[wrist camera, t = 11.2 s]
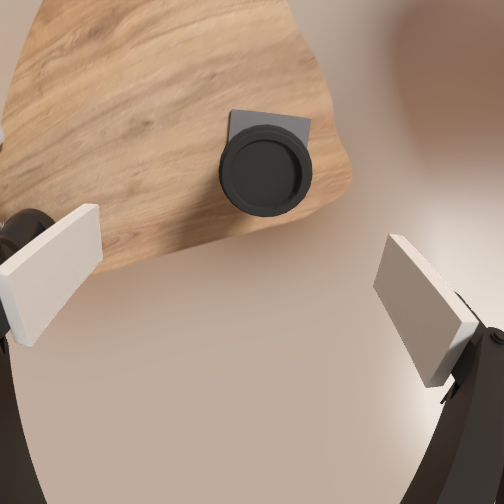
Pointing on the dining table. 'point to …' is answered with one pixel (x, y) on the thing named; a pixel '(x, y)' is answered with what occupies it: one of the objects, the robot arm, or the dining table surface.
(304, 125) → the coaster
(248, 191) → the coffee cup
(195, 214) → the dining table surface
